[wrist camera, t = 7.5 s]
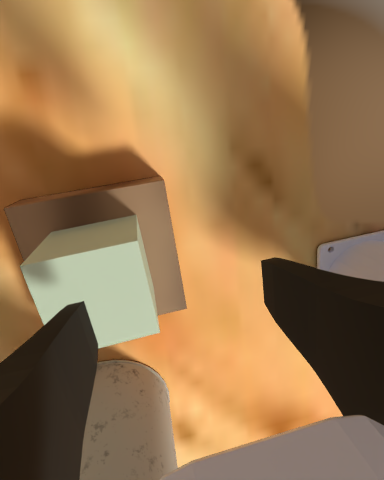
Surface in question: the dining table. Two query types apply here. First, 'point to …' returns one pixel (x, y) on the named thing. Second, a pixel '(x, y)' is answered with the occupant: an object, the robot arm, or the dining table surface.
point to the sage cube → (96, 278)
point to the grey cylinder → (128, 425)
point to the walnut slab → (103, 209)
